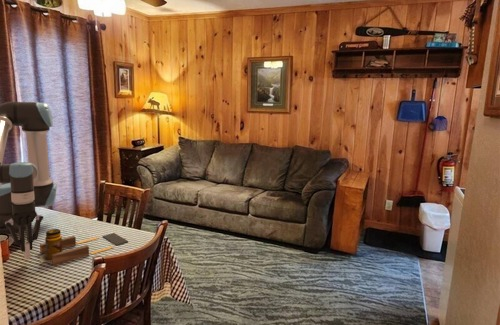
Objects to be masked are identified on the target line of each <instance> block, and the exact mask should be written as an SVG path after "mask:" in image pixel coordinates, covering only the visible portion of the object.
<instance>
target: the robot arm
mask: <svg viewBox="0 0 500 325" xmlns="http://www.w3.org/2000/svg"><path fill="white" fill-rule="evenodd" d="M53 124H54V123H53V116H52V112H51V108H50V106H49V105H48V103H44V102H38V101H37V102H36V101H34V102H33V101H31V102H30V101H6V102H4V103H1V104H0V184H1V185H0V234H1V235H2V234H4V235H5V234H11V237H12V240H13V242H14V244H16V245H20V246H19V247H20V251H21V253H23V258H24V259H25V260H26V261H27V260H30V259H31V251H32V250H33V243H34V241H37V240H38V238H39V231H40V229H41V228H40V227H41V223H42V221H43V220H44V216H43V215H42V214H38V213H37V211H36V208H40V207H41V208H43V207H44V208H45V207H51V206H53V205H54V204H55V202H56V195H57V183H54V180H53V179H51V177H50V167H49V166H50V165H49V154H48V153H49V152H48V139H47V138H48V136H47V133H48V132H49V131H50V128H51V127H53ZM13 127H21V131H22V132H24V133H25V137H26V140H25V141H26V148H27V161H21V162H18V161H16V162H14V163H13V162H12V163H11V164H10V163H9V164H6V163H5V164H3V161H4V156H5V151H6V146H7V141H8V135H9V132H10V131H11V130H12V128H13ZM34 220H35V222H34ZM33 222H34V227H33V224H32V223H33ZM25 230H26V231H25ZM32 230H33V231H32ZM17 232H18V234H17ZM25 232H26V238H25ZM26 240H27V241H26Z"/></svg>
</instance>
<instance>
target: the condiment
mask: <svg viewBox="0 0 500 325" xmlns="http://www.w3.org/2000/svg"><path fill="white" fill-rule="evenodd" d="M62 239H63V238H62V235H61V229H59V228H51V229H49V230H47V231H46V232H45V238H44V243H46V253H45V254H41V255H40V257H39V258H40V264H43V263H47V262H52V254H56V253H60V252H63V249H62Z"/></svg>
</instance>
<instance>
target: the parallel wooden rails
mask: <svg viewBox="0 0 500 325" xmlns="http://www.w3.org/2000/svg"><path fill="white" fill-rule="evenodd" d="M76 239H77V238H76V236H75V235H72V236H68V237H63V238H62V252H60V253H56V254H52V261H51V265H53V266H57V265H61V264H63V263H67V262H71V261H73V260H77V259H81V258H84V257H87V256H90V246H89V245H88V244H85V245H81V246H79V247H75V246H76V245H77V243H76V242H77V241H76ZM71 247H75V248H71ZM66 248H71V249H68V250H64V249H66ZM39 249H40V252H39V253H40V254H41V255H46V243H45V242H43V243H40V244H39ZM63 250H64V251H63Z"/></svg>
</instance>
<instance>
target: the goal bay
mask: <svg viewBox="0 0 500 325" xmlns="http://www.w3.org/2000/svg"><path fill="white" fill-rule="evenodd" d="M98 239H100V238H99V237H98V236H95V237H92V238H87V239H84V240H79V241H76V245H79V244H84V243H87V242H90V241H91V242H92V241H95V240H98ZM113 249H114V246H107V247H105V248H101V249H97V250H94V251H91V252H90V251H89V255H95V254H98V253H103V252H105V251H108V250H113Z"/></svg>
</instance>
